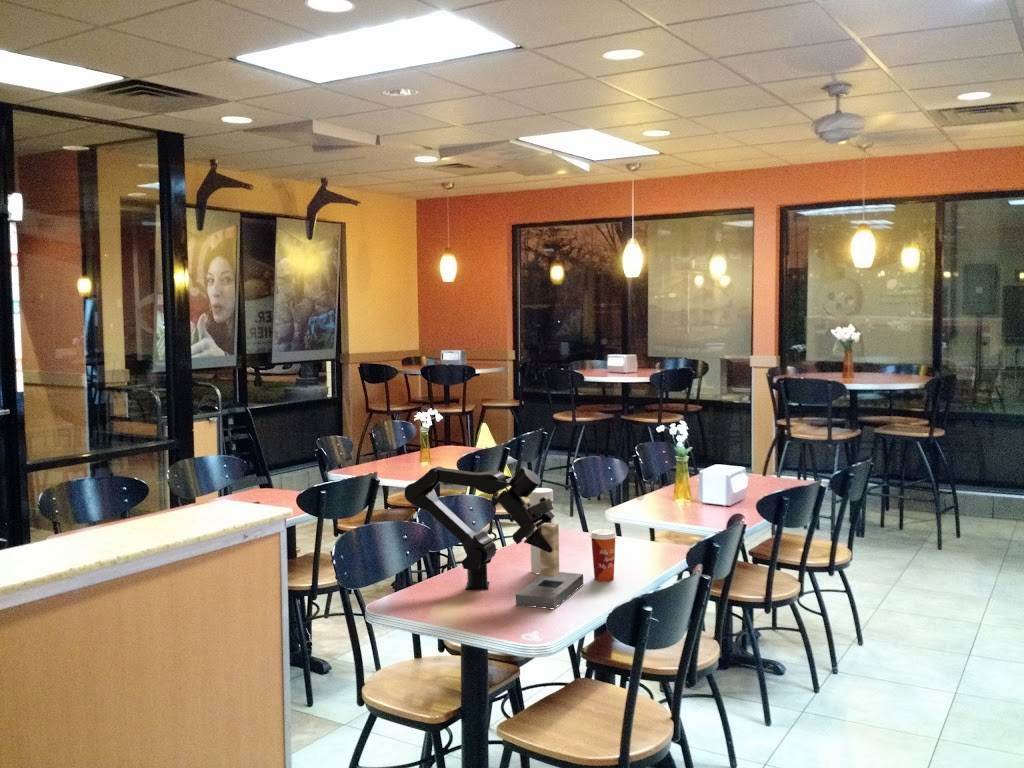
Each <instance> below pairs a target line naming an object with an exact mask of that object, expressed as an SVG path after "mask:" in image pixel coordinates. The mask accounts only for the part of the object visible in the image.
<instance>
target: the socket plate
mask: <svg viewBox="0 0 1024 768" xmlns="http://www.w3.org/2000/svg"><path fill="white" fill-rule="evenodd" d="M582 584H583V585H584V574H583V573H577V572H576V573H574V572H564V571H559V574H557V575H556V576H555V577H550V576H541V575H540V576H538V577H537V578H536V579H534V580H533V581H532V582H530V583H529V584H527V585H526V586H525V587H524V588H522V589H521V590H520V591H517V593H515V606H517V605H522V606H521V607H526V606H536V607H546V608H555V607H556V606H557V605H559V604H560V603H561V602H562V601H563V600H564V599H566V598H567V597H568V596H569V595H570V594H571V595H573V594H574V593H575V592H576V591H577V590H578V589H580V588H581V587H582V586H583V585H582ZM581 585H582V586H581ZM580 586H581V587H580ZM579 587H580V588H579ZM577 588H578V589H577ZM576 589H577V590H576ZM575 590H576V591H575ZM574 591H575V592H574ZM573 592H574V593H573ZM572 593H573V594H572ZM571 595H570V596H571ZM570 596H569V597H570ZM569 597H568V598H569ZM568 598H567V599H568ZM567 599H566V600H567ZM563 602H564V601H563ZM563 602H562V603H563ZM562 603H561V604H562ZM561 604H560V605H561ZM523 605H524V606H523ZM560 605H559V606H560ZM556 608H557V607H556ZM556 608H555V609H556Z"/></svg>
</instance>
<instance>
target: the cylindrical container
mask: <svg viewBox="0 0 1024 768" xmlns="http://www.w3.org/2000/svg"><path fill="white" fill-rule="evenodd" d="M553 493H554V491H553V489H552V488H548V487H537V488H536V489H535V490H534V491H533V492H532V493H531V494H530V495H529V496H528V497H529V502H528V503H531V504H532V505H536V504H538V503H540V499H541V498H543V497H545V496H546V497H548V498H550V500H551V501H553V503H552V506H553V507H554V494H553ZM550 511H551V513H552V514H553V515H554V509H553V510H550ZM551 523H554V518H553V519H552V520H551ZM531 571H532V572H533V573H532V572H531ZM530 572H531V573H532V574H534V573H539V574H538V575H540V574H541V562H540V548H538V547H535V546H533V545H530Z"/></svg>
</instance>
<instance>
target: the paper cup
mask: <svg viewBox="0 0 1024 768" xmlns="http://www.w3.org/2000/svg"><path fill="white" fill-rule="evenodd" d="M589 537H590V538H591V548H592V549H591V552H592V560H593V562H592V564H593V565H592V566H593V574H594V580H595V579H596V580H595V581H597V580H599V581H598V582H610V581H609V580H611V581H614V579H615V561H616V560H615V557H616V556H615V555H616V538H617V534H616V532H615V530H612V529H605V528H603V529H602V528H601V529H599V528H598V529H594V530H592V531H591V534H590V536H589Z"/></svg>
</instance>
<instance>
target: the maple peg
mask: <svg viewBox="0 0 1024 768" xmlns="http://www.w3.org/2000/svg"><path fill="white" fill-rule="evenodd" d="M559 529H560V527H559V523H555V522H553V523H544V524H542V525H541V533H542V535H543V537H544V538H545V539H546V541H547V542H548V544H549V545H550V547H551V548H552V550H553V551H552V552H551V553H549V552H547V551H544V550H542V549H540V562H541V575H540V576H550V577H555V576H556V575H557V574H559V572H560V540H559V539H560V538H559V537H560V535H559V534H560V533H559Z"/></svg>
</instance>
